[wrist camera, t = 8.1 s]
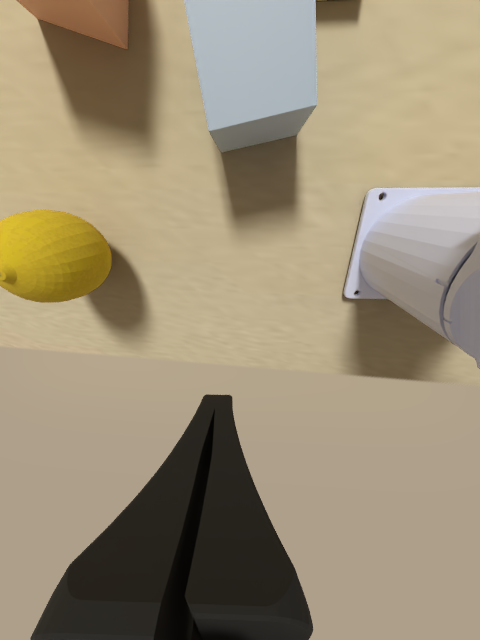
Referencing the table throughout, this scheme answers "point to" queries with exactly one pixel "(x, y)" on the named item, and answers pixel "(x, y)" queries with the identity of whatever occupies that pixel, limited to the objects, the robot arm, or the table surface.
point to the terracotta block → (86, 17)
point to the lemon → (51, 256)
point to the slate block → (254, 67)
